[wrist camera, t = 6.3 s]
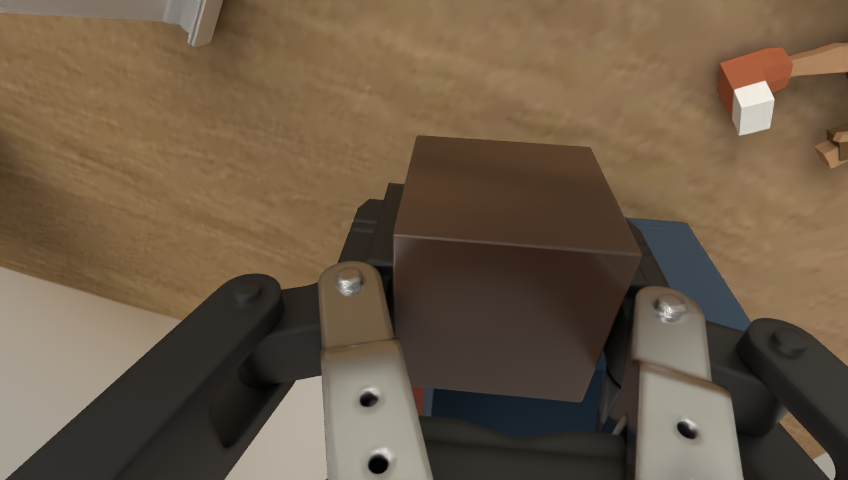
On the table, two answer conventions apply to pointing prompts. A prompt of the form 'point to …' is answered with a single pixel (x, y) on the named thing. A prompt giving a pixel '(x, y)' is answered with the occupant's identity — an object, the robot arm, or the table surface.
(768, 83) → the character figurine
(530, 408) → the sorter box
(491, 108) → the table surface
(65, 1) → the tablet stand
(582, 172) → the walnut block
